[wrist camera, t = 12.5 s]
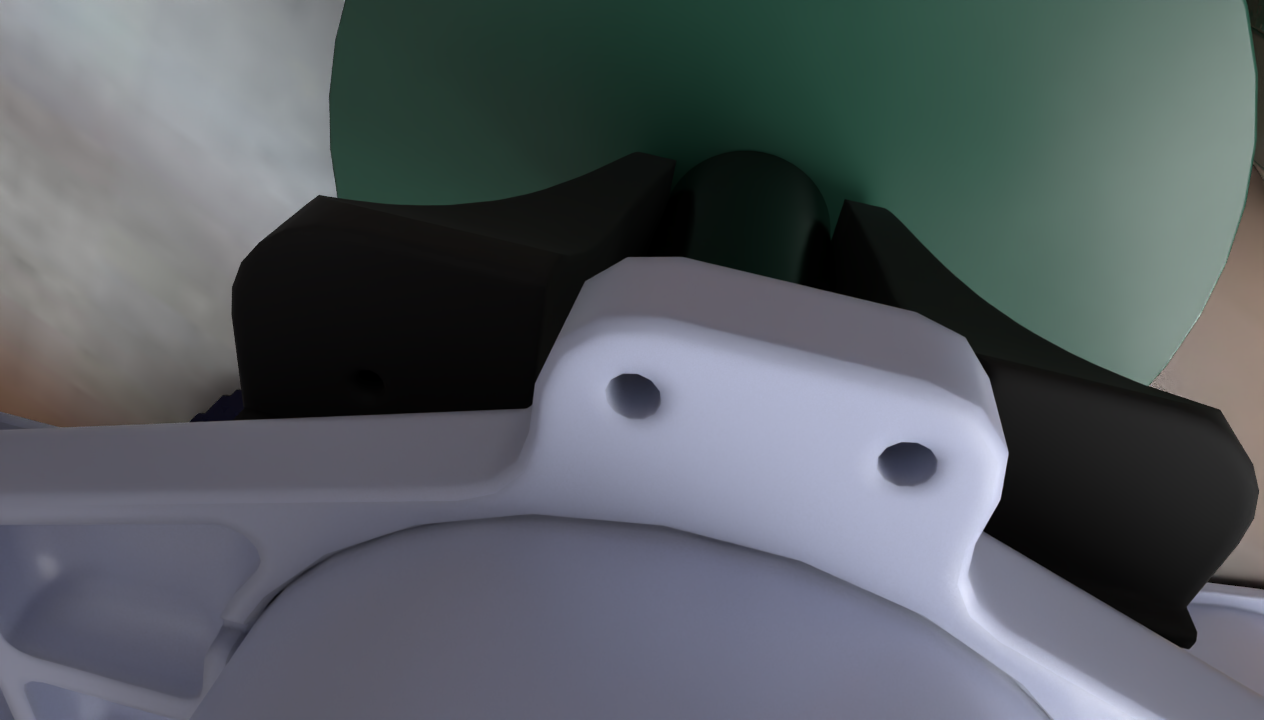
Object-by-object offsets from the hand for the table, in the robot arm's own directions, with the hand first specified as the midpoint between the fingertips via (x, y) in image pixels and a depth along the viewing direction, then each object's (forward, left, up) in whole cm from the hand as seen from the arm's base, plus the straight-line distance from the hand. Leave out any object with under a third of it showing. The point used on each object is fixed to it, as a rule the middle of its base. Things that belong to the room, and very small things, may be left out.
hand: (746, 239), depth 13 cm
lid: (0, 0, -1) cm, 1 cm away
